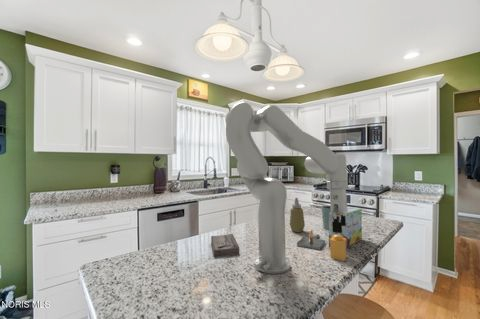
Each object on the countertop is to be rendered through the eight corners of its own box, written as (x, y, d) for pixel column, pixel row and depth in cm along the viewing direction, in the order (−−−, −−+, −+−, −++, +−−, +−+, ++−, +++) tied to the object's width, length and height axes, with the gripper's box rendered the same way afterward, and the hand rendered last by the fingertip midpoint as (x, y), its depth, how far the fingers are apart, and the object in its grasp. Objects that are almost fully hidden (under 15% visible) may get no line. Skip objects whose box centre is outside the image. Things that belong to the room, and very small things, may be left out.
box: (232, 239, 111) (232, 233, 111) (240, 254, 94) (239, 247, 94) (210, 242, 109) (210, 235, 109) (213, 257, 92) (213, 250, 92)
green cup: (322, 230, 125) (321, 208, 125) (321, 225, 134) (320, 205, 135) (342, 231, 122) (341, 209, 122) (340, 226, 131) (339, 205, 132)
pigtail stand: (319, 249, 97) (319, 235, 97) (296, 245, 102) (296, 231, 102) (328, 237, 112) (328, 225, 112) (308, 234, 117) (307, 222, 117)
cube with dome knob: (344, 260, 85) (344, 238, 86) (330, 258, 88) (329, 236, 88) (346, 256, 90) (345, 235, 90) (333, 253, 92) (332, 233, 93)
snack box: (341, 251, 95) (340, 214, 95) (328, 247, 99) (327, 212, 100) (362, 239, 109) (362, 207, 109) (351, 237, 113) (350, 206, 113)
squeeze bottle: (306, 233, 120) (305, 198, 121) (291, 233, 120) (290, 199, 121) (302, 228, 128) (302, 196, 129) (288, 229, 128) (287, 196, 129)
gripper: (344, 187, 80) (347, 236, 80) (350, 182, 95) (352, 224, 95) (322, 187, 84) (324, 234, 84) (331, 182, 99) (333, 222, 99)
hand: (339, 228), depth 89 cm, fingers open, 9 cm apart
